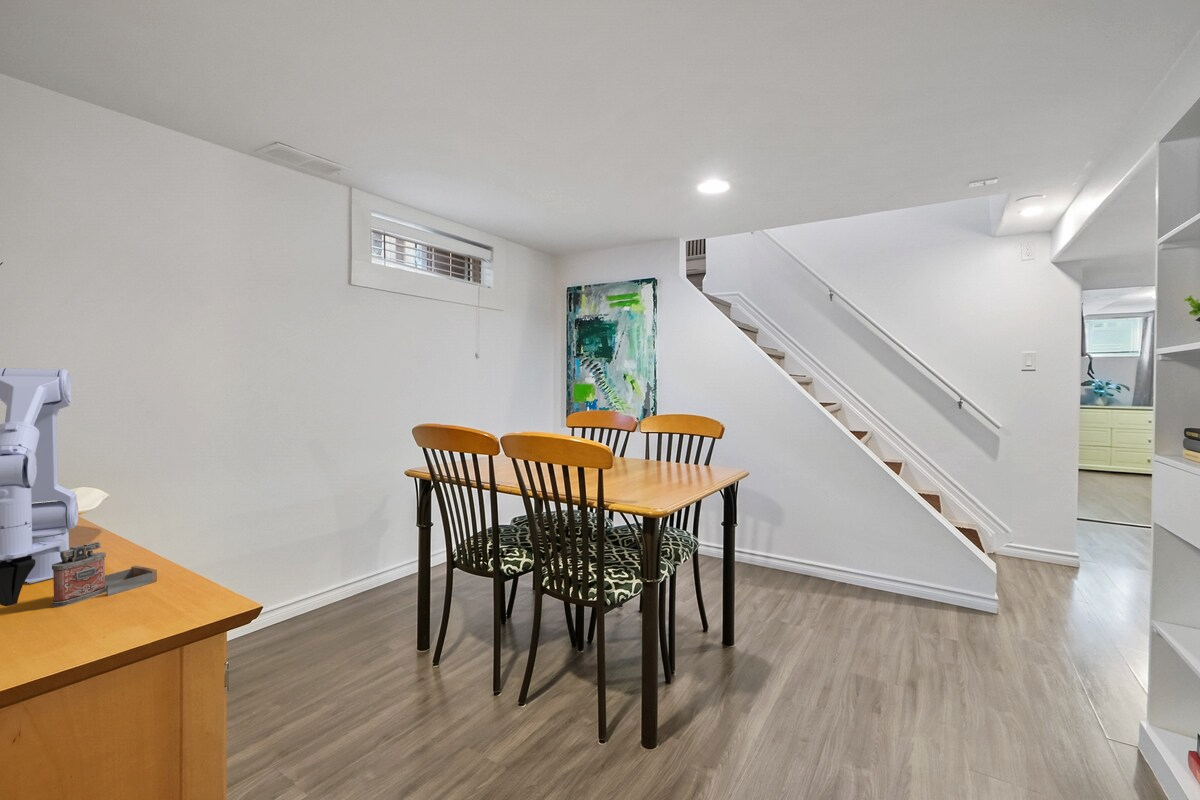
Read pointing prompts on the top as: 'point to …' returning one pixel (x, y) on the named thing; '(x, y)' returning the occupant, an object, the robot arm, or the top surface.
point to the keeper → (129, 579)
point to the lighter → (79, 575)
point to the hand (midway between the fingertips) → (8, 604)
